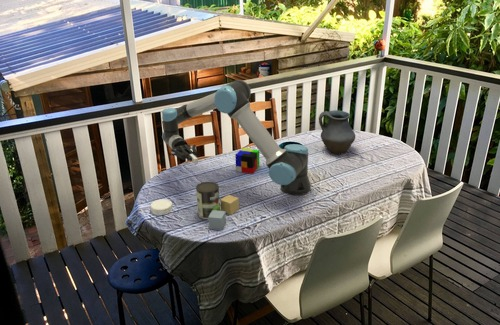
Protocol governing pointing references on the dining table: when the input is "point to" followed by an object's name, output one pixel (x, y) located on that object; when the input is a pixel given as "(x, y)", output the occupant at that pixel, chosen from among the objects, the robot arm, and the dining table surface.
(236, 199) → the ochre block
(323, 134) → the pitcher
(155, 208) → the cream disc
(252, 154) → the puzzle toy
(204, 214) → the coffee can
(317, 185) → the dining table surface
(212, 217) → the slate block
